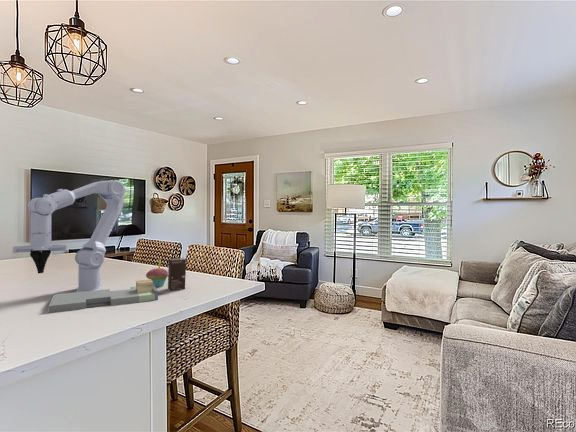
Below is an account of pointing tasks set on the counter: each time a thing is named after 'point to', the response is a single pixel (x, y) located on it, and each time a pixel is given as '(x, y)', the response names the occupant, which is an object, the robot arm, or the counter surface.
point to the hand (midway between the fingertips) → (40, 272)
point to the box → (176, 273)
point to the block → (144, 285)
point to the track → (99, 299)
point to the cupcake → (157, 275)
